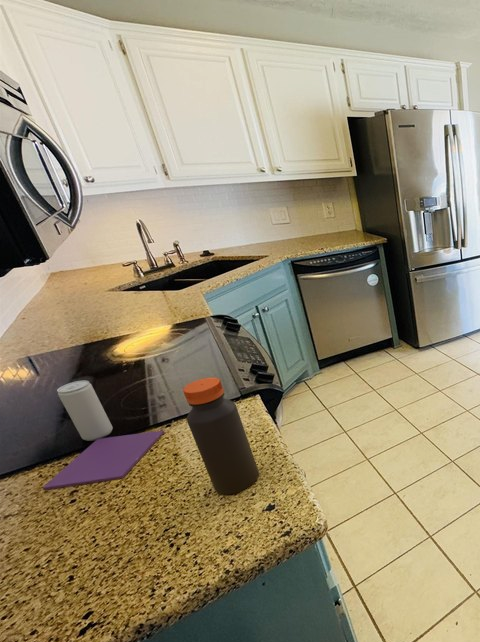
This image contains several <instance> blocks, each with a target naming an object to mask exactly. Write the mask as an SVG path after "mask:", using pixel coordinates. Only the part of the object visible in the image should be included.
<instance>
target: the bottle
mask: <svg viewBox="0 0 480 642" xmlns="http://www.w3.org/2000/svg"><path fill="white" fill-rule="evenodd" d="M182 392H183V394H184V397H185V399H186V402H187V403H188V405H189V406H190V407H191V409H190V411H189V412H188V414H187V416H186V422H187V425H188V427H189V429H190V432H191V435H192V437H193V440H194V442H195V445H196V447H197V451H198V452H199V454H200V457H201V460H202V462H203V465H204V467H205V469H206V471H207V474H208V476H209V479H210V483H211V484H212V486H213V489H214V491H215V492H216V493H217V494H219V495H223V496H228V495H233V494H238V493H240V492H242V491H245V490H246V489H248V488H249V487H251V486H252V485H253V484H254V483H255V482H256V481H257V479H258V478H259V475H260V472H259V468H258V465H257V463H256V459H255V456H254V454H253V451H252V449H251V445H250V442H249V439H248V437H247V433H246V431H245V427H244V425H243V422H242V419H241V415H240V412H239V410H238V407H237V405H236V403H235V401H233V400H230V399H228V398H225V397H224V396H225V390H224V387H223V384H222V382H221V379H220V378H218V377H205V378H200V379H197V380H194V381H192V382H190V383H188V384H186V385H185V386H184V387H183V389H182Z"/></svg>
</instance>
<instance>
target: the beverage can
mask: <svg viewBox="0 0 480 642" xmlns="http://www.w3.org/2000/svg"><path fill="white" fill-rule="evenodd" d="M56 392H57V396H58V397H59V399H60V401H61V403H62V405H63V406H64V408H65V410H66V412H67V414H68V416H69V417H70V419H71V421H72V423H73V425H74V426H75V428H76V430H77V433H78V434H79V436H80V438H81V439H82V440H83V441H85V442H93V441H94V442H95V441H96V440H97V439H101V438H106V437H107V436H109V435H110V434H111V433H112V432H113V425H112V423H111V421H110V418H109V417H108V415H107V413H106V411H105V409H104V407H103V405H102V403H101V401H100V398H99V397H98V395H97V393H96V391H95V389H94V387H93V385H92V384H91V383H90V381H89V380H86V379H85V380H76V381H71V382H69V383H66V384H64V385H61V386H59V388H57V389H56Z"/></svg>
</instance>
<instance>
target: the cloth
mask: <svg viewBox="0 0 480 642" xmlns="http://www.w3.org/2000/svg"><path fill="white" fill-rule="evenodd" d="M164 434H165V430H155V431H149V432H141V433H140V432H139V433H132V434H125V435H118V436H109V437H103V438H101V439H97V440H94V442H93V441H92V443H91V444H90V445H89V446H88V447H87V448H85V449H84V450H83V451H82V452H81V453H80V454H79V455H77V457H76V458H74V459H73V460H72V461H71V462H69V464H67V466H65V467H64V468H63V469H61V470H60V471H59V472H58V473H57V474H56V475H55V476H54V477H52V479H50V480H49V481H48V482H47V483H46V484H45V485H44V486H42V490H43V491H48V490H54V489H62V488H69V487H75V486H81V485H89V484H95V483H101V482H108V481H115V480H122V479H124V478H125V477H126V475H128V473H129V472H130V471H131V470H132V469H133V468H134V467H135V466H136V464H137V463H139V461H140V460H141V459H142V458H143V457H144V456H145V454H146V453H148V451H149V450H150V449H151V448H152V447H153V446H154V445H155V444H156V443H157V441H158V440H159V439H160V438H161V437H162V436H163V435H164Z"/></svg>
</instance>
